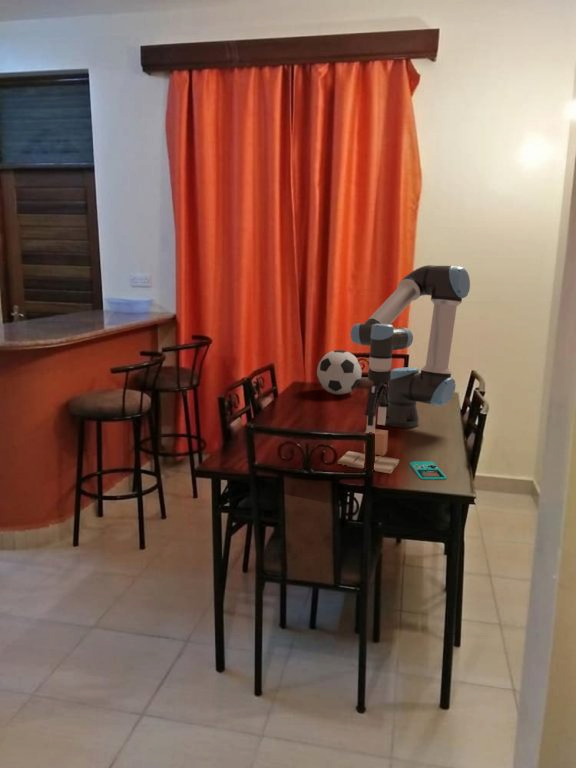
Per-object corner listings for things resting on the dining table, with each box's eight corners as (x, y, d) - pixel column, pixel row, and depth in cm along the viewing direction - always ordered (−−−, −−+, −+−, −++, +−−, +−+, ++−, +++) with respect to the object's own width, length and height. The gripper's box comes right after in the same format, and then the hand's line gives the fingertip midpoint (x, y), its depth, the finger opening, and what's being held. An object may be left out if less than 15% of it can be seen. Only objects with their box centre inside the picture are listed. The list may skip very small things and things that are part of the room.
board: (348, 454, 201) (348, 450, 201) (399, 462, 194) (399, 459, 194) (337, 464, 191) (337, 460, 191) (390, 473, 184) (390, 470, 184)
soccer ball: (307, 392, 289) (308, 349, 284) (339, 386, 302) (341, 345, 297) (336, 401, 272) (338, 355, 267) (369, 395, 285) (372, 351, 280)
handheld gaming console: (432, 460, 195) (447, 477, 180) (432, 463, 195) (447, 480, 180) (408, 460, 194) (421, 478, 179) (408, 463, 194) (421, 481, 180)
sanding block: (367, 449, 207) (368, 427, 205) (386, 452, 204) (388, 430, 202) (363, 453, 202) (364, 431, 201) (383, 456, 200) (384, 434, 198)
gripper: (379, 363, 209) (375, 419, 214) (358, 374, 187) (354, 436, 191) (399, 365, 206) (395, 422, 210) (380, 376, 184) (376, 440, 188)
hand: (375, 429), depth 201 cm, fingers open, 13 cm apart
